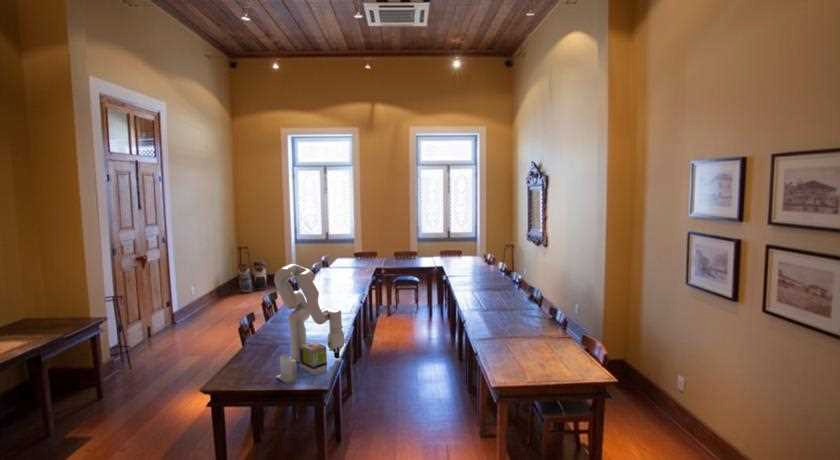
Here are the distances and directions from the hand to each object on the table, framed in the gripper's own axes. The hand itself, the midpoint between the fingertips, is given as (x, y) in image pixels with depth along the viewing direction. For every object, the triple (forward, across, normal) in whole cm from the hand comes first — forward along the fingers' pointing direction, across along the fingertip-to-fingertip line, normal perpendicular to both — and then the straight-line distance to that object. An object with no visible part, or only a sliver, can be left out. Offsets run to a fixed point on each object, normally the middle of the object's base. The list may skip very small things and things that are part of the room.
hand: (337, 357), depth 289 cm
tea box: (+2, +18, 0) cm, 18 cm away
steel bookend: (+2, +36, 0) cm, 36 cm away
